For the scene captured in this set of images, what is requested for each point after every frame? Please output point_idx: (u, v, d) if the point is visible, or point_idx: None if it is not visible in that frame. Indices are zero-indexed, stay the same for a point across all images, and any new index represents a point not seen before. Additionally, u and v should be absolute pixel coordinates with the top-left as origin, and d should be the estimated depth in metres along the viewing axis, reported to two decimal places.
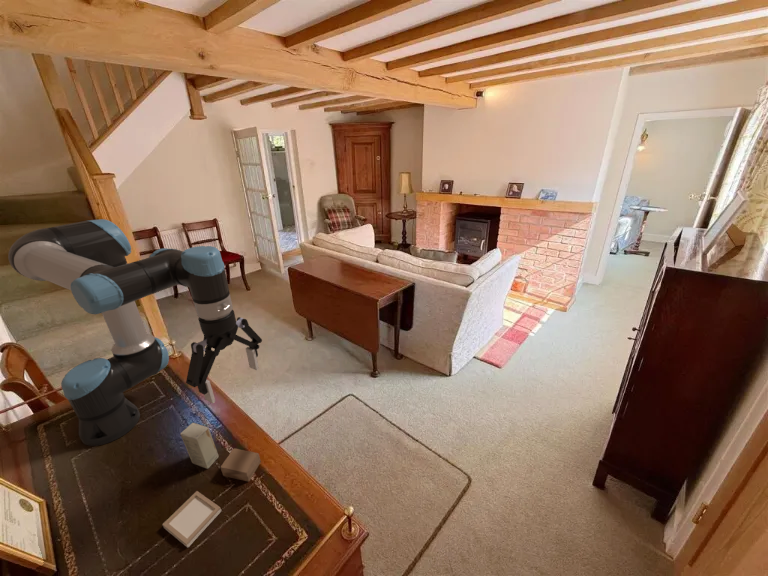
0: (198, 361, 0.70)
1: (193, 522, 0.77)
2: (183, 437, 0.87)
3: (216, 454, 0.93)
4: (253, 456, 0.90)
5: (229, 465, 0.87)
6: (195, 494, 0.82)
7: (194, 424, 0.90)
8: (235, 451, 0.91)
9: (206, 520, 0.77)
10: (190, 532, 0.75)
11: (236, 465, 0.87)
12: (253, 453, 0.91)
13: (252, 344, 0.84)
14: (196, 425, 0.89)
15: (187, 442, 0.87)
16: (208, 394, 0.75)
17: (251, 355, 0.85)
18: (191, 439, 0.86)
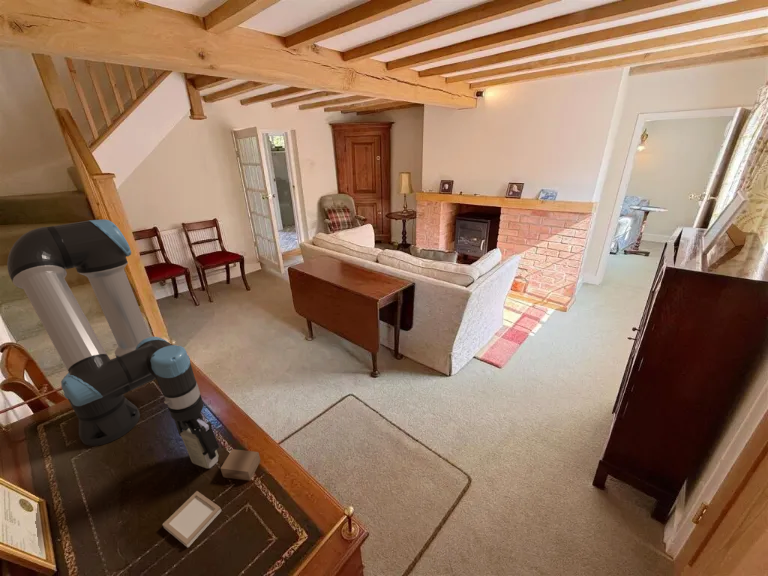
0: (175, 421, 0.89)
1: (193, 522, 0.77)
2: (183, 437, 0.87)
3: (216, 454, 0.93)
4: (253, 455, 0.90)
5: (230, 466, 0.87)
6: (195, 494, 0.82)
7: None
8: (234, 452, 0.91)
9: (206, 520, 0.77)
10: (190, 532, 0.75)
11: (236, 465, 0.87)
12: (253, 452, 0.91)
13: (203, 447, 0.86)
14: None
15: (187, 442, 0.87)
16: None
17: None
18: (191, 439, 0.86)
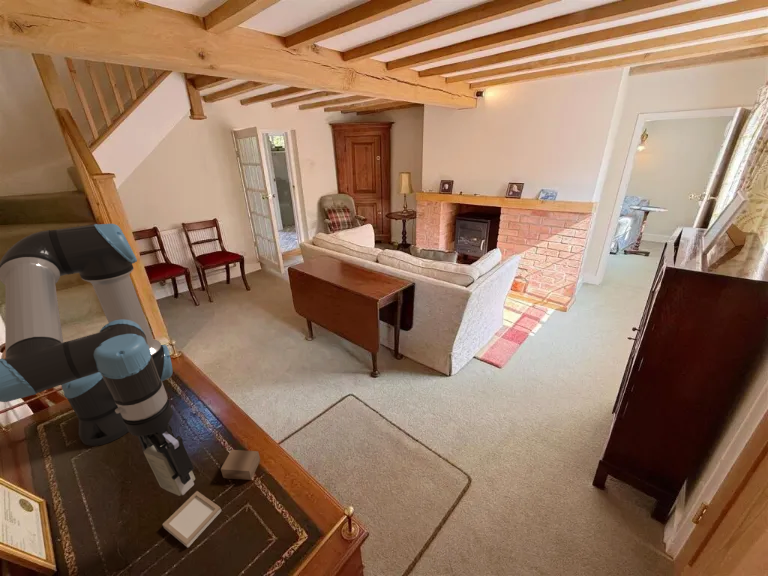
0: None
1: (193, 522, 0.77)
2: (147, 456, 0.66)
3: (192, 476, 0.72)
4: (253, 455, 0.90)
5: (230, 466, 0.87)
6: (195, 494, 0.82)
7: None
8: (233, 452, 0.91)
9: (206, 520, 0.77)
10: (190, 532, 0.75)
11: (237, 465, 0.87)
12: (252, 452, 0.91)
13: (173, 468, 0.66)
14: None
15: (152, 462, 0.67)
16: None
17: None
18: (157, 459, 0.65)
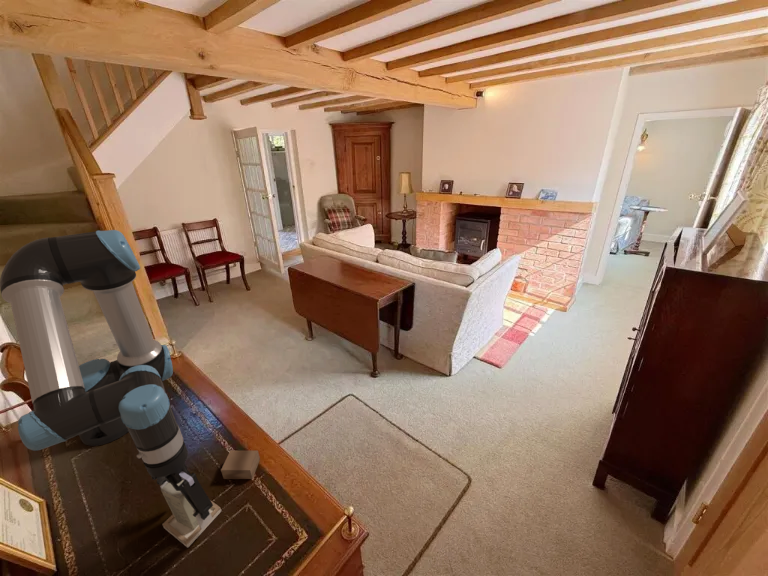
0: None
1: None
2: (164, 494, 0.72)
3: None
4: (253, 454, 0.91)
5: (230, 467, 0.87)
6: None
7: None
8: (233, 453, 0.91)
9: None
10: (190, 532, 0.75)
11: (237, 465, 0.87)
12: (252, 451, 0.91)
13: (192, 506, 0.70)
14: None
15: (169, 499, 0.73)
16: None
17: None
18: (173, 497, 0.71)
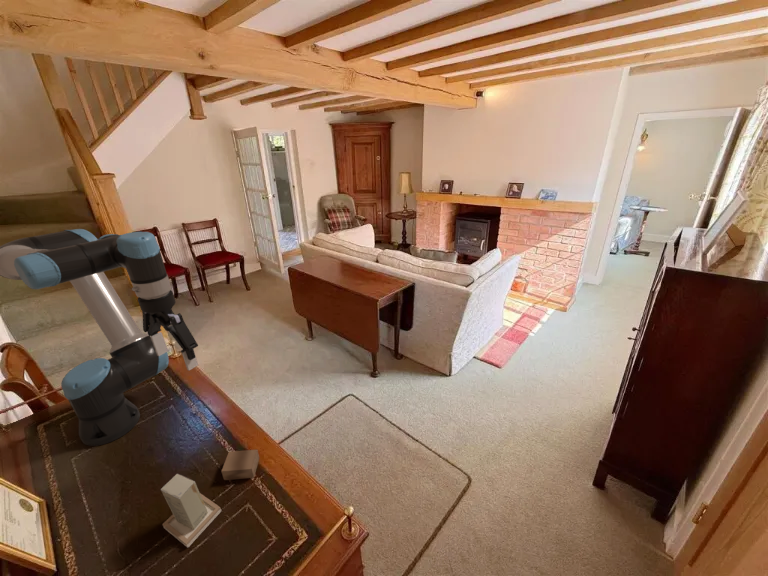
0: (143, 316, 0.86)
1: None
2: (164, 494, 0.72)
3: (205, 510, 0.78)
4: (253, 453, 0.91)
5: (231, 467, 0.87)
6: None
7: (178, 477, 0.75)
8: (231, 454, 0.91)
9: (206, 520, 0.77)
10: (190, 532, 0.75)
11: (238, 465, 0.87)
12: (252, 451, 0.92)
13: (180, 344, 0.82)
14: (180, 478, 0.75)
15: (169, 499, 0.73)
16: None
17: None
18: (173, 497, 0.71)
